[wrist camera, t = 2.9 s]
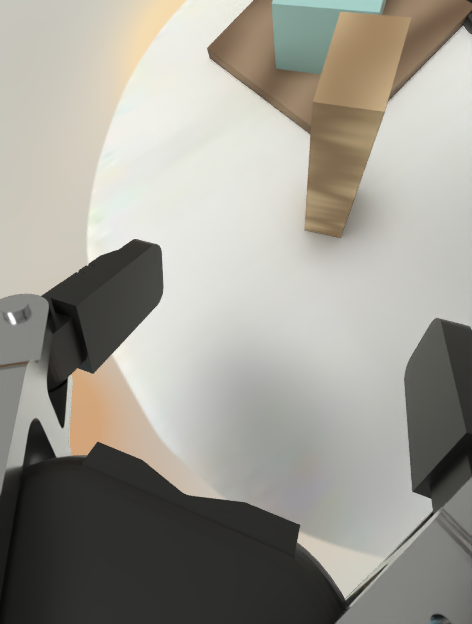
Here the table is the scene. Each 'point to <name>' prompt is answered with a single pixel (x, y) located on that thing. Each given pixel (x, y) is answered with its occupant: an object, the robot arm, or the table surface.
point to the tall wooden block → (349, 113)
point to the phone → (468, 21)
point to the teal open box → (311, 29)
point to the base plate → (302, 86)
